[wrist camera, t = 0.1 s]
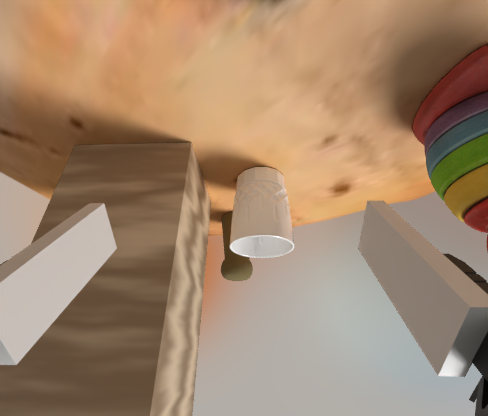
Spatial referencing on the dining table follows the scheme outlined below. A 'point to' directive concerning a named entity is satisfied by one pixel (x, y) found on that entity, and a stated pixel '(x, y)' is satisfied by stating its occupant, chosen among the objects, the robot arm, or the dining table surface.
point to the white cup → (261, 215)
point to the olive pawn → (233, 256)
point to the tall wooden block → (124, 291)
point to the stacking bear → (459, 139)
